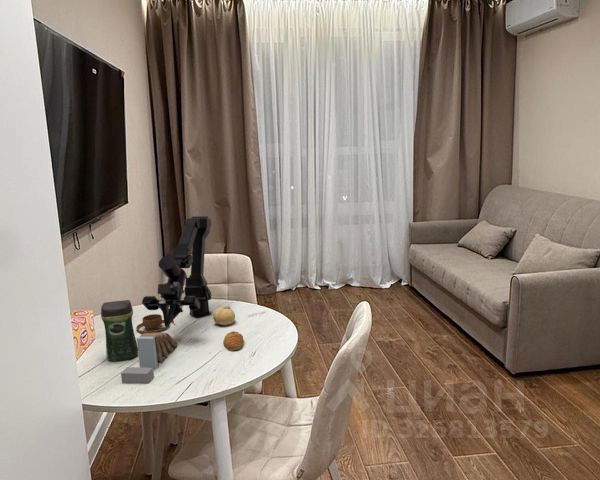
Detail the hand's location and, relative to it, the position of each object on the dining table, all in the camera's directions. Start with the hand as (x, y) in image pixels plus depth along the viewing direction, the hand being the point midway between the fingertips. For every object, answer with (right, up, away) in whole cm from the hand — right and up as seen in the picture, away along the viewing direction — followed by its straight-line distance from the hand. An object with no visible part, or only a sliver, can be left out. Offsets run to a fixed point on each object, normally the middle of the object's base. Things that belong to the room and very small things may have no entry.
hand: (166, 326), depth 176 cm
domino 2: (-2, -11, -13) cm, 17 cm away
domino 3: (-1, -9, -5) cm, 10 cm away
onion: (+16, -3, +21) cm, 27 cm away
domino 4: (0, -8, -2) cm, 8 cm away
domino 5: (+1, -7, +2) cm, 7 cm away
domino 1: (-1, -10, -9) cm, 13 cm away
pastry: (+22, -7, +1) cm, 23 cm away
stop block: (-3, -12, -21) cm, 24 cm away
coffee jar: (-13, -9, -3) cm, 17 cm away
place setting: (-12, -4, +24) cm, 27 cm away
